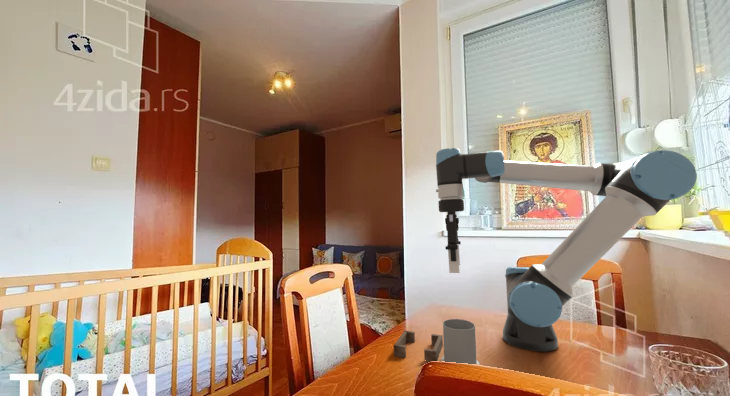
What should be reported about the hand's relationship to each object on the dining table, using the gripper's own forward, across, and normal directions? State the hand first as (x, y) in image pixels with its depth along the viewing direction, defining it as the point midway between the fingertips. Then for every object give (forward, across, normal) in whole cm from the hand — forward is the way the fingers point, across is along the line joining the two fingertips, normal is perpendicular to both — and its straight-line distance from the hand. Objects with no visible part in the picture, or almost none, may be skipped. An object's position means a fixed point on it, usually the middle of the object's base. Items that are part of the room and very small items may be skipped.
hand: (455, 268), depth 91 cm
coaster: (+24, +9, 0) cm, 25 cm away
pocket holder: (+24, +4, -12) cm, 27 cm away
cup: (+24, +9, 0) cm, 25 cm away
